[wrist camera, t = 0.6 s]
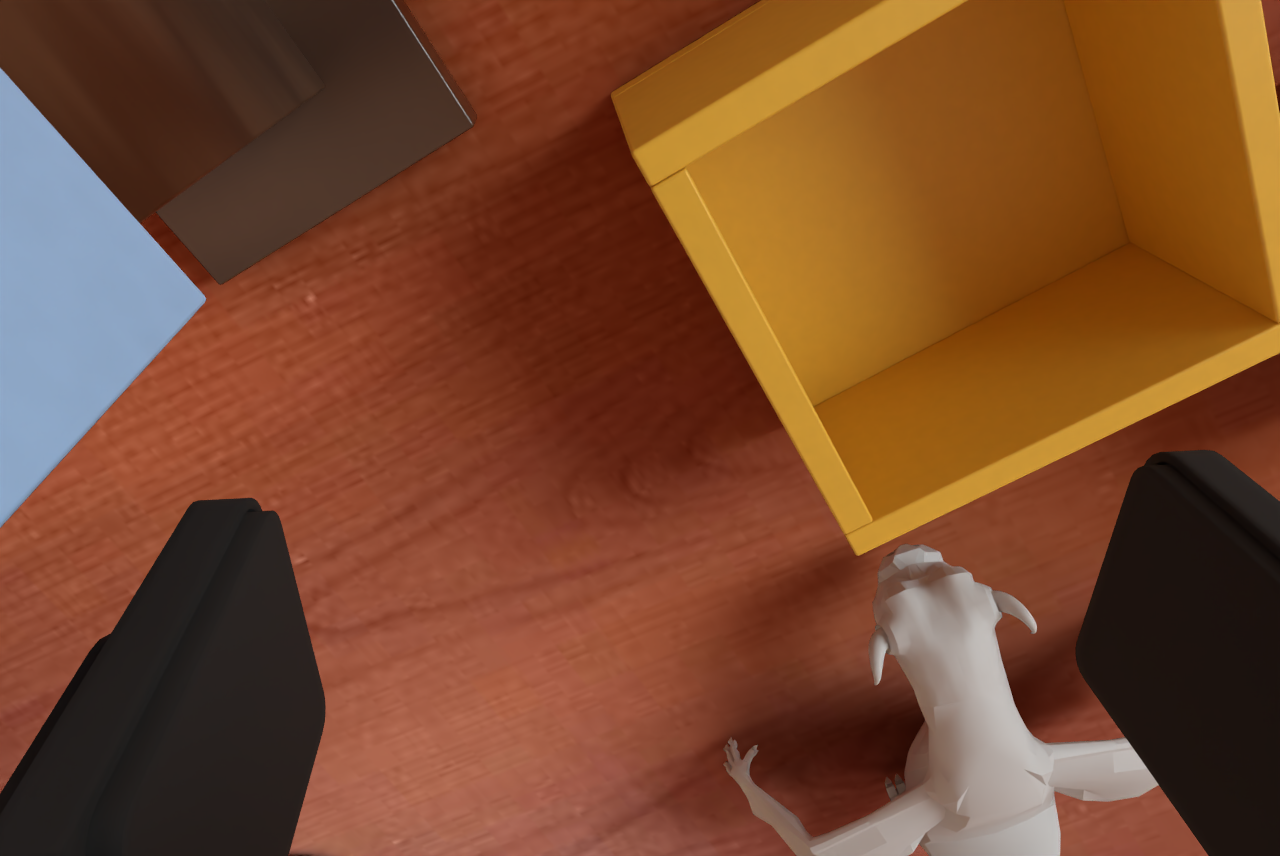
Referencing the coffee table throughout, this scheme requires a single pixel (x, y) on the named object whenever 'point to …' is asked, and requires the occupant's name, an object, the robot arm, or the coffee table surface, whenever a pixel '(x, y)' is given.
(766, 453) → the coffee table surface
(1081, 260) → the mustard bin
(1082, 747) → the dragon figurine
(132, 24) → the stand
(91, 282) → the blue block
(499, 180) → the coffee table surface
